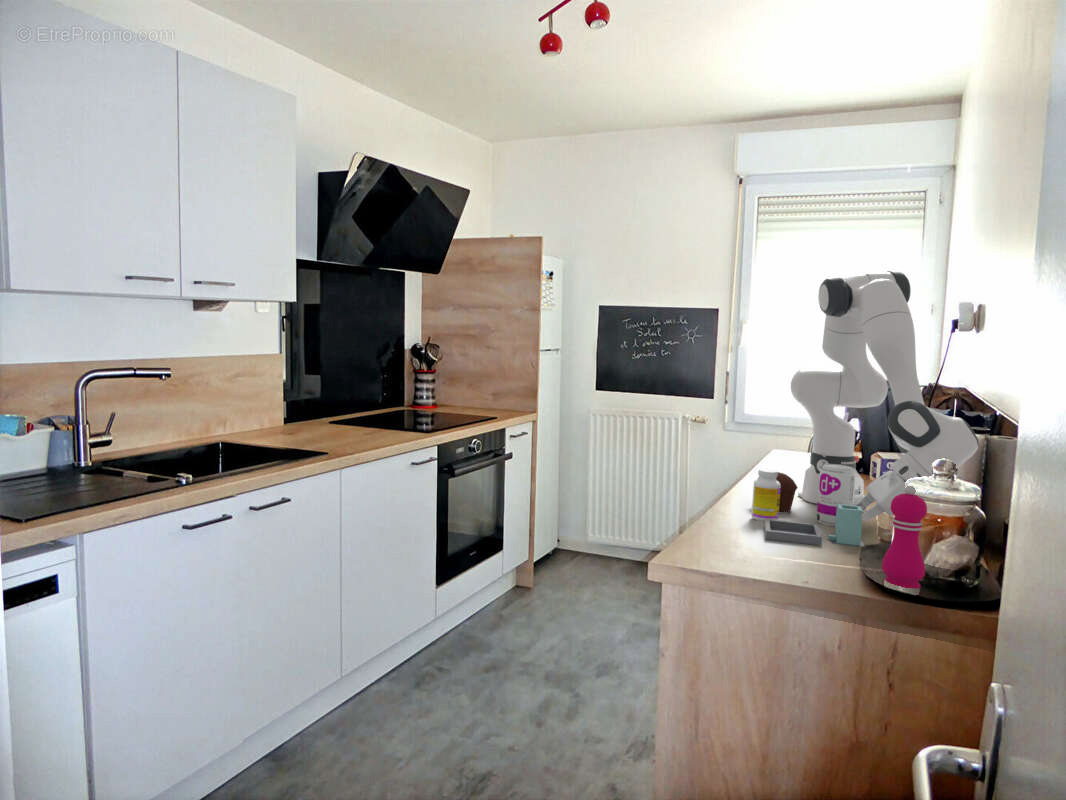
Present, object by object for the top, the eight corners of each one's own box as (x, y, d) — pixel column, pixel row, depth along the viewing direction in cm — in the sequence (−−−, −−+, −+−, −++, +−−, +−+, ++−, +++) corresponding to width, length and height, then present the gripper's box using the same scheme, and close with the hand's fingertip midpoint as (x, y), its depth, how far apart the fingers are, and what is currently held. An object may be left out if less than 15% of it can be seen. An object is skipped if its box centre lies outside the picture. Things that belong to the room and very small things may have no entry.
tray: (764, 528, 179) (765, 518, 178) (816, 534, 175) (817, 524, 175) (765, 541, 167) (765, 530, 167) (821, 547, 164) (822, 536, 164)
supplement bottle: (779, 524, 184) (783, 473, 183) (752, 521, 186) (756, 471, 184) (776, 517, 191) (780, 469, 190) (750, 515, 192) (753, 467, 191)
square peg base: (829, 537, 173) (830, 519, 173) (861, 541, 171) (862, 522, 171) (832, 545, 166) (833, 526, 166) (865, 549, 165) (867, 529, 164)
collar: (827, 536, 172) (830, 503, 172) (857, 539, 170) (860, 506, 170) (829, 542, 168) (832, 507, 167) (860, 545, 166) (863, 510, 165)
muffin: (743, 505, 205) (746, 469, 204) (774, 503, 209) (777, 468, 208) (772, 515, 194) (775, 478, 193) (805, 512, 198) (807, 476, 197)
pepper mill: (872, 584, 140) (881, 481, 138) (908, 584, 140) (917, 482, 139) (893, 597, 133) (903, 489, 131) (931, 598, 133) (941, 490, 132)
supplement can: (835, 529, 181) (840, 470, 180) (809, 521, 188) (813, 464, 187) (857, 527, 185) (862, 468, 183) (831, 519, 192) (835, 462, 191)
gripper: (891, 458, 174) (844, 494, 178) (909, 472, 155) (856, 512, 158) (910, 478, 173) (862, 514, 177) (931, 495, 154) (876, 535, 157)
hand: (859, 514), depth 168 cm, fingers open, 8 cm apart
